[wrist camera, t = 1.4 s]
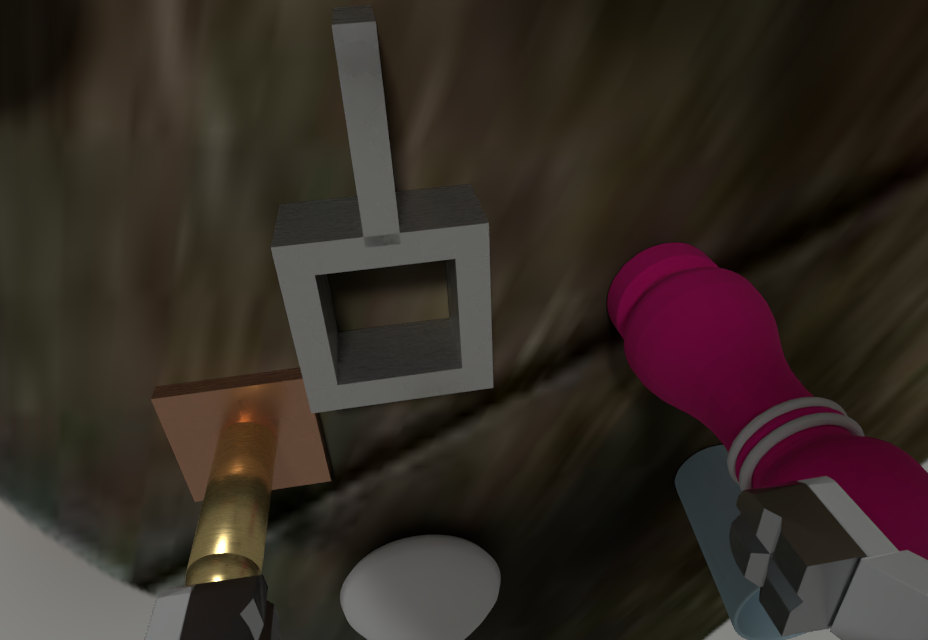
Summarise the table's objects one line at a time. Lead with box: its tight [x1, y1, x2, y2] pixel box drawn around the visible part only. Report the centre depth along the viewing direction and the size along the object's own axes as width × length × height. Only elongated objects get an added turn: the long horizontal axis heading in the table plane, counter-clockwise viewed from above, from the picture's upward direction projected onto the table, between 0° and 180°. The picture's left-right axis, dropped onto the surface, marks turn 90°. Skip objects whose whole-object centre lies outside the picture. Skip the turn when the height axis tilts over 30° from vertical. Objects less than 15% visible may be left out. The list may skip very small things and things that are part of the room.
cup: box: [675, 445, 807, 640], centre depth 40 cm, size 8×8×10 cm
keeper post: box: [151, 368, 331, 586], centre depth 31 cm, size 8×8×11 cm
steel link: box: [271, 5, 493, 413], centre depth 28 cm, size 17×9×4 cm, turn 2°
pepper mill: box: [607, 242, 928, 560], centre depth 27 cm, size 7×7×20 cm
